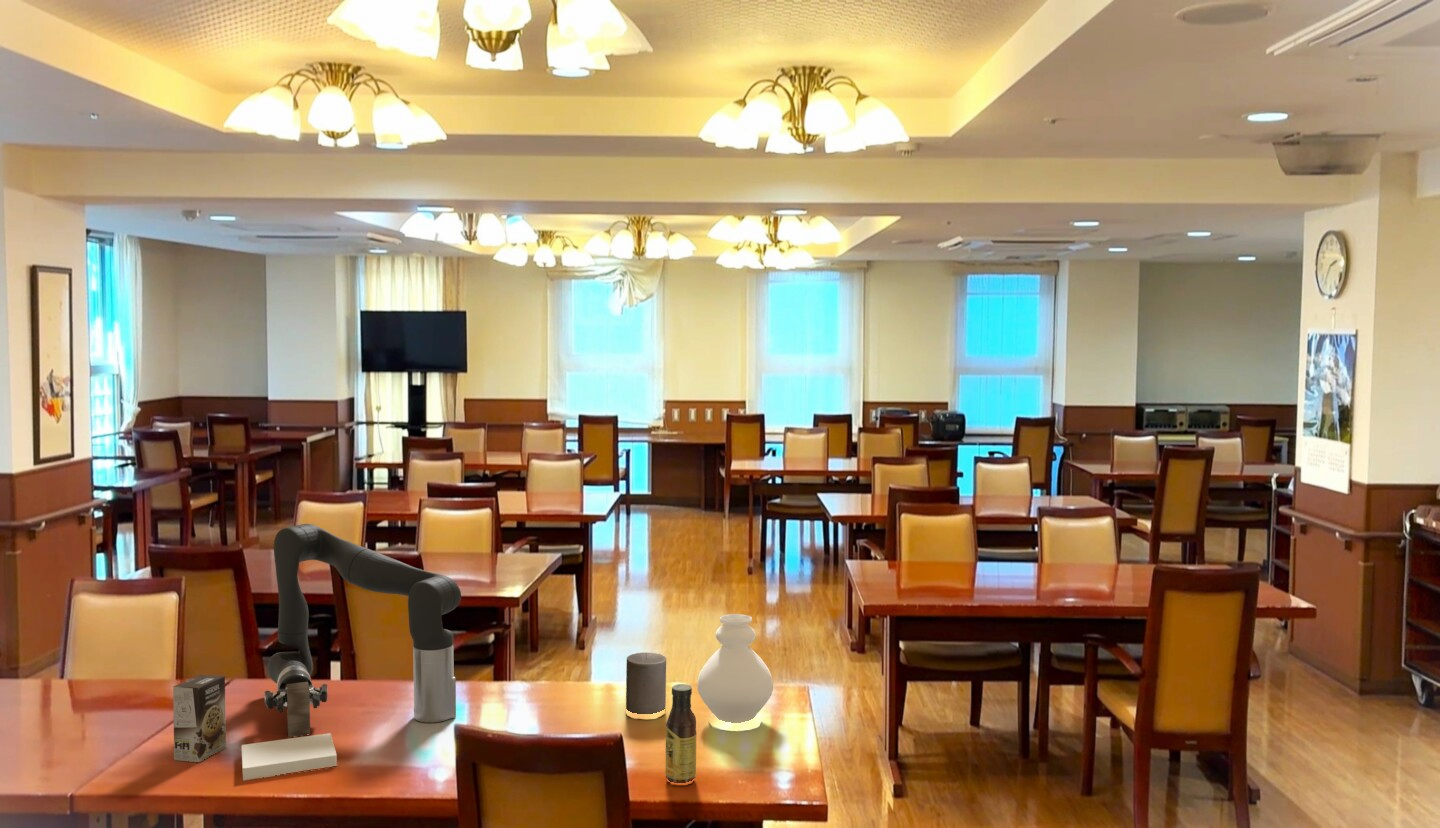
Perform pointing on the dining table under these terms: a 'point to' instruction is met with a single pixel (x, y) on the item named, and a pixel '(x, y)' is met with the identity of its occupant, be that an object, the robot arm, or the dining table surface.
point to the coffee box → (199, 718)
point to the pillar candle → (646, 683)
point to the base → (287, 756)
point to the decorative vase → (735, 673)
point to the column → (298, 709)
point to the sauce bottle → (681, 737)
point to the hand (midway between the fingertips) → (298, 706)
